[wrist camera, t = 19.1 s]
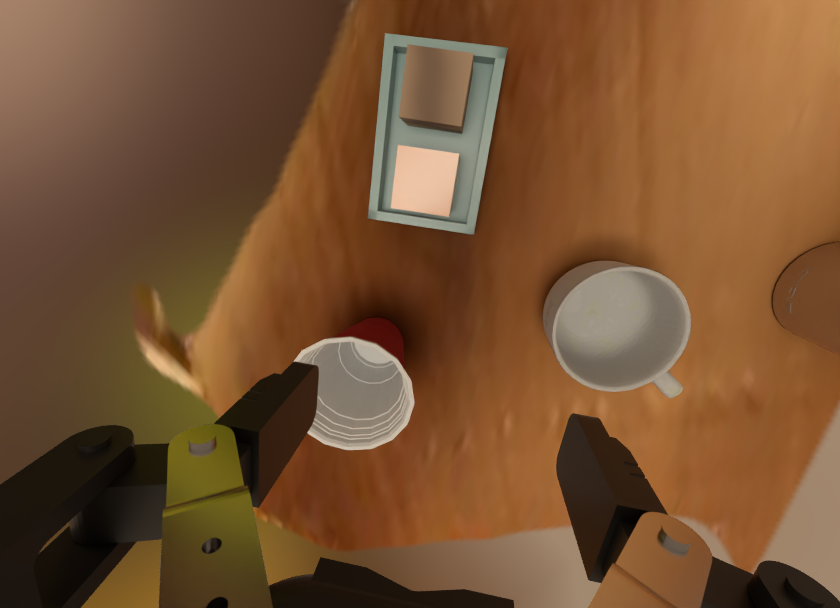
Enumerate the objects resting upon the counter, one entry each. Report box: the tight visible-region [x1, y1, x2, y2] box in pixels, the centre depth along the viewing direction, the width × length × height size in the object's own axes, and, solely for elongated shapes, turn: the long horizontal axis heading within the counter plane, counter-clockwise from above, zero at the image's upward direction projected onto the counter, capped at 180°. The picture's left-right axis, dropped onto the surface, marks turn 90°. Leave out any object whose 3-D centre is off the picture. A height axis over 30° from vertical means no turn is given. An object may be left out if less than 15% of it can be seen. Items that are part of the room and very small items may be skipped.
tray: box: [368, 33, 507, 235], centre depth 35 cm, size 10×15×2 cm, turn 172°
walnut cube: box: [399, 44, 474, 134], centre depth 32 cm, size 5×5×5 cm
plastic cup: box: [294, 317, 414, 450], centre depth 37 cm, size 11×11×12 cm
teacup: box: [543, 261, 691, 398], centre depth 35 cm, size 14×11×8 cm
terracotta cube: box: [391, 145, 461, 217], centre depth 34 cm, size 5×5×5 cm
